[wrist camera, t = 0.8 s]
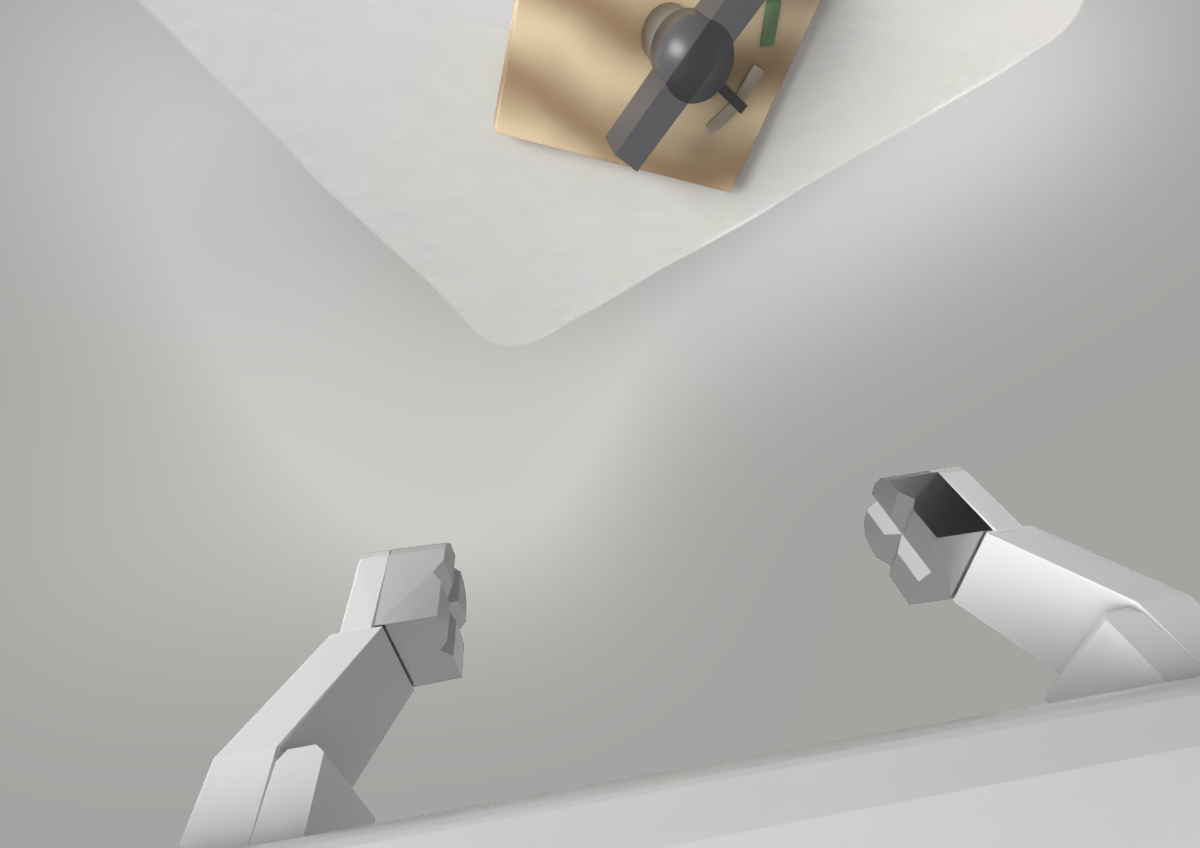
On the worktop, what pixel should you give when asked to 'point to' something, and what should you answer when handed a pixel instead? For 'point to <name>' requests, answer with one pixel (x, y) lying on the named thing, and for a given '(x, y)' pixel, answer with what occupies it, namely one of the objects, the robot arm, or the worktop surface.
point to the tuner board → (637, 83)
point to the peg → (680, 70)
